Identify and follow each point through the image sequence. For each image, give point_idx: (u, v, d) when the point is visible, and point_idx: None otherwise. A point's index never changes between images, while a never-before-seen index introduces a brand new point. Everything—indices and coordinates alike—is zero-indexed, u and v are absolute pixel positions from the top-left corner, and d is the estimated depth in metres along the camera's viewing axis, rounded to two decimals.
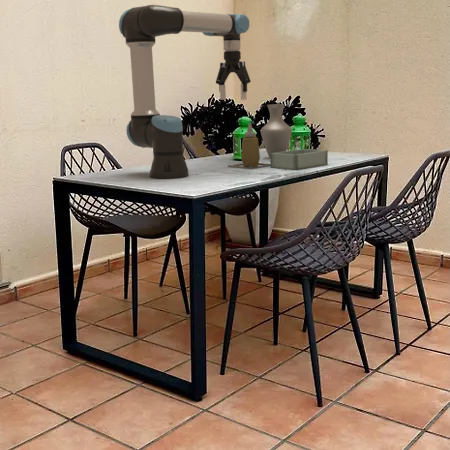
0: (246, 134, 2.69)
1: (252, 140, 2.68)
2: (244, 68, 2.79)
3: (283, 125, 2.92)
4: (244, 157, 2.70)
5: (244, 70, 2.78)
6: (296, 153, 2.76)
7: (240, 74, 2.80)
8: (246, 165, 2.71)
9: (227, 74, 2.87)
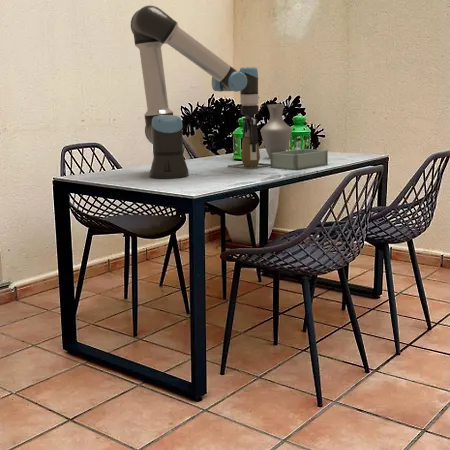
0: (246, 134, 2.69)
1: None
2: (254, 127, 2.64)
3: (283, 125, 2.92)
4: (244, 157, 2.70)
5: (254, 129, 2.64)
6: (296, 153, 2.76)
7: None
8: (246, 165, 2.71)
9: (248, 129, 2.73)
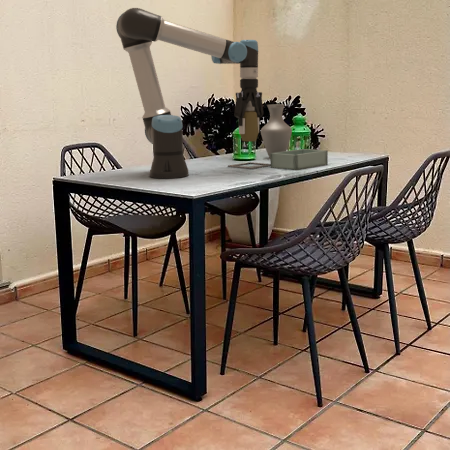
0: None
1: None
2: (238, 100, 2.63)
3: (283, 125, 2.92)
4: None
5: (237, 103, 2.63)
6: (296, 153, 2.76)
7: (241, 106, 2.66)
8: (242, 139, 2.71)
9: (253, 104, 2.69)
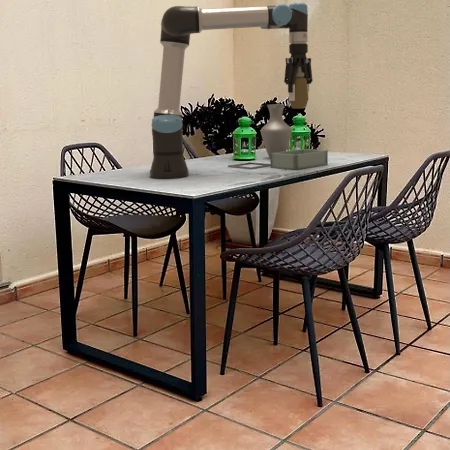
0: None
1: None
2: (288, 66, 2.56)
3: (283, 125, 2.92)
4: None
5: (287, 68, 2.57)
6: (296, 153, 2.76)
7: None
8: (291, 106, 2.65)
9: (302, 70, 2.63)
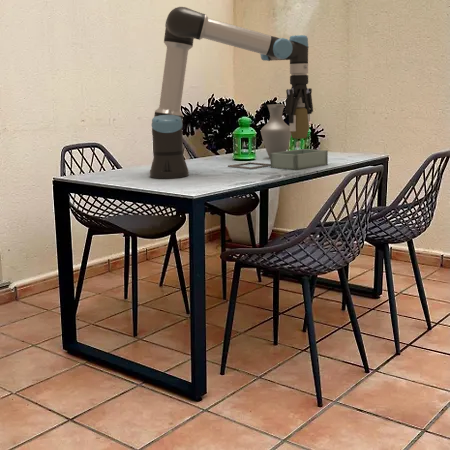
0: None
1: None
2: (289, 97, 2.59)
3: (283, 125, 2.92)
4: None
5: (288, 100, 2.59)
6: (296, 153, 2.76)
7: (292, 103, 2.62)
8: (292, 136, 2.67)
9: (303, 100, 2.65)
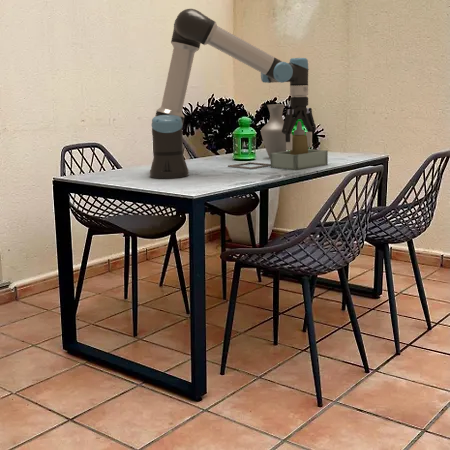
0: None
1: (294, 138, 2.64)
2: (288, 117, 2.60)
3: None
4: None
5: (286, 119, 2.60)
6: None
7: (290, 122, 2.62)
8: None
9: (304, 120, 2.68)
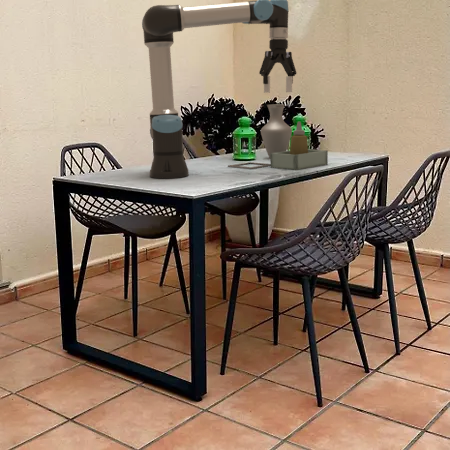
0: None
1: (294, 138, 2.65)
2: (266, 58, 2.56)
3: (283, 125, 2.92)
4: None
5: (264, 60, 2.57)
6: None
7: (268, 65, 2.59)
8: None
9: (284, 64, 2.64)
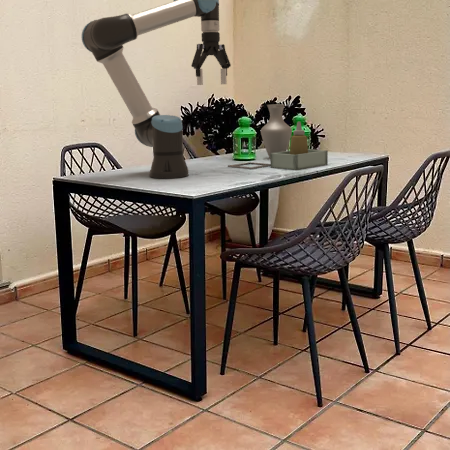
0: None
1: (294, 138, 2.65)
2: (198, 51, 2.60)
3: (283, 125, 2.92)
4: None
5: (196, 53, 2.60)
6: None
7: (201, 57, 2.62)
8: None
9: (217, 57, 2.68)
